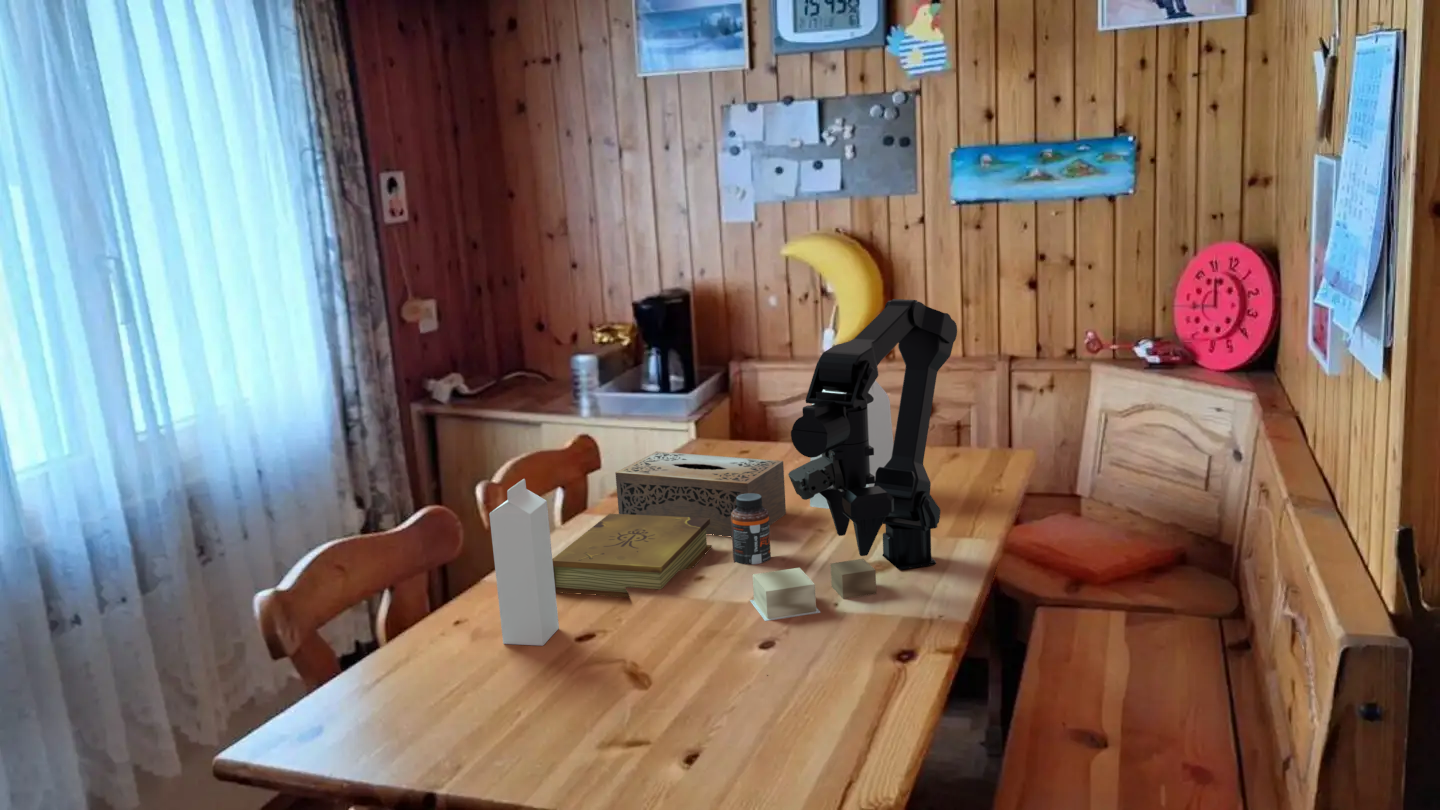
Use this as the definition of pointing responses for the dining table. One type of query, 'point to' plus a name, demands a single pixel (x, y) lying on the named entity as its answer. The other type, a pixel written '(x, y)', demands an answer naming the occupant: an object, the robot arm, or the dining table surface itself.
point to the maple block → (784, 593)
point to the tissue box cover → (699, 487)
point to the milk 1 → (524, 568)
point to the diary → (630, 554)
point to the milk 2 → (871, 436)
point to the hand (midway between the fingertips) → (852, 545)
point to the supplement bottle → (750, 530)
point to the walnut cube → (853, 578)
